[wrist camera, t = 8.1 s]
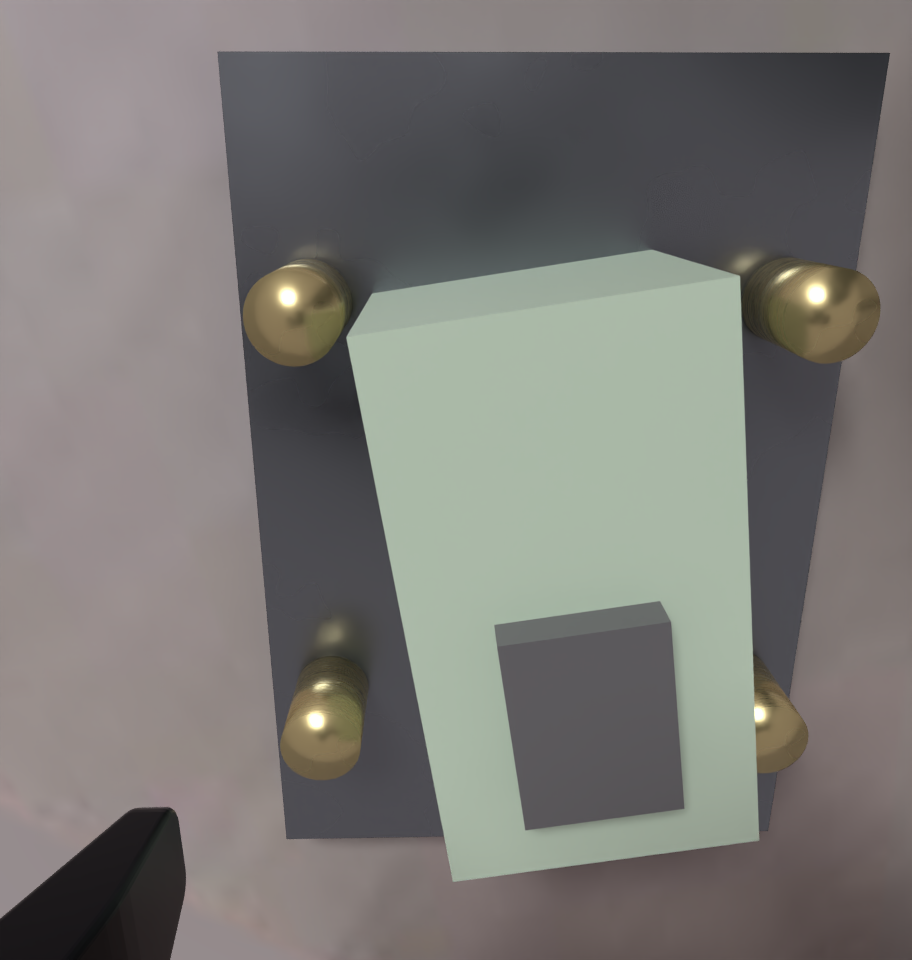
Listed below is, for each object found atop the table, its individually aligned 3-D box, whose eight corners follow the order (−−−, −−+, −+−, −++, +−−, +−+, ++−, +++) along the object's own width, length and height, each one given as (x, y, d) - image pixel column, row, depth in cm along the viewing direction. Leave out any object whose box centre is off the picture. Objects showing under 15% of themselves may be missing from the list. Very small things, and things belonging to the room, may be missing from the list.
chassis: (855, 62, 15) (962, 32, 12) (749, 794, 20) (804, 901, 17) (234, 62, 15) (181, 29, 12) (295, 801, 20) (269, 911, 17)
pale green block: (651, 249, 15) (758, 281, 10) (681, 682, 18) (773, 869, 13) (372, 293, 15) (341, 345, 10) (449, 715, 18) (453, 911, 13)
